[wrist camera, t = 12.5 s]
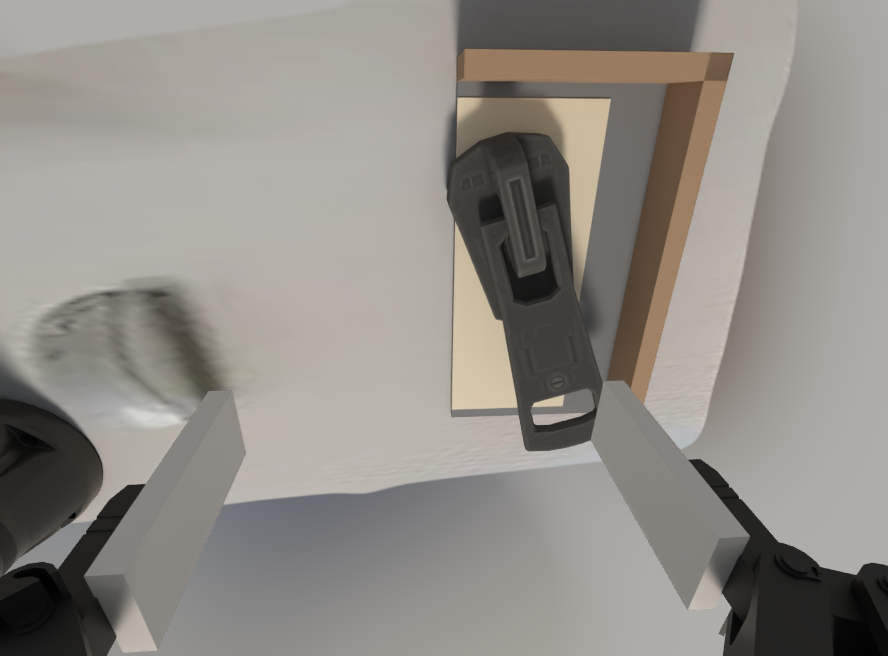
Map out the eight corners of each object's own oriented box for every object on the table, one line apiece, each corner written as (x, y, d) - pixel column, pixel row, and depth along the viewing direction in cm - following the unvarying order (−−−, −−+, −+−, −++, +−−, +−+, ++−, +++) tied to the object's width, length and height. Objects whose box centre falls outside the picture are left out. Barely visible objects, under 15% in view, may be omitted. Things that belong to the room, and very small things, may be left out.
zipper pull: (521, 461, 38) (438, 165, 27) (507, 413, 44) (434, 154, 33) (625, 434, 37) (584, 119, 26) (596, 389, 43) (552, 116, 32)
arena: (451, 413, 44) (455, 448, 40) (457, 56, 31) (464, 48, 26) (612, 408, 45) (633, 441, 41) (688, 60, 31) (734, 52, 27)
